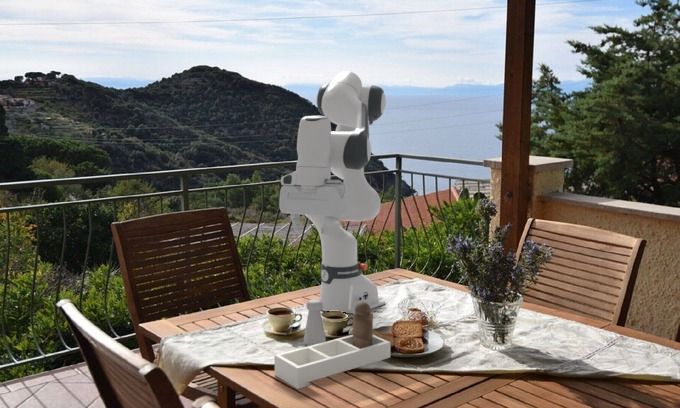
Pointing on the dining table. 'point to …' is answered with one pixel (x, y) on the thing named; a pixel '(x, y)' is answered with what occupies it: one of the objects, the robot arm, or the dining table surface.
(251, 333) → the dining table surface
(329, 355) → the caddy
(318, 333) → the salt shaker
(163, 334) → the dining table surface
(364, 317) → the pepper mill
